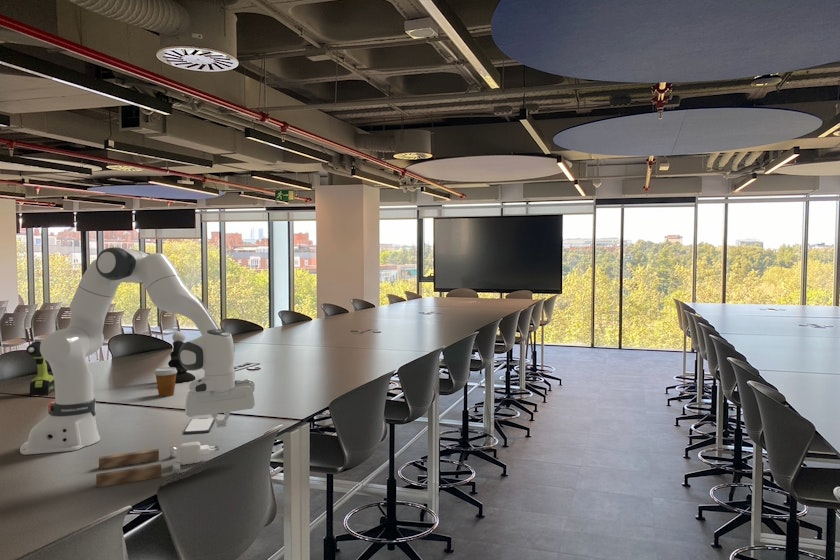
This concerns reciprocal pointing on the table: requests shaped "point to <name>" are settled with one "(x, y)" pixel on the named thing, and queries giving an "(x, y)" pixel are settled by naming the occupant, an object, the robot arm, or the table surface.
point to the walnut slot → (128, 474)
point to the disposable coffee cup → (166, 380)
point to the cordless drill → (40, 372)
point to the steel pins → (176, 464)
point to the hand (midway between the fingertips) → (221, 426)
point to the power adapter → (194, 452)
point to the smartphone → (199, 426)
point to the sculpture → (175, 362)
